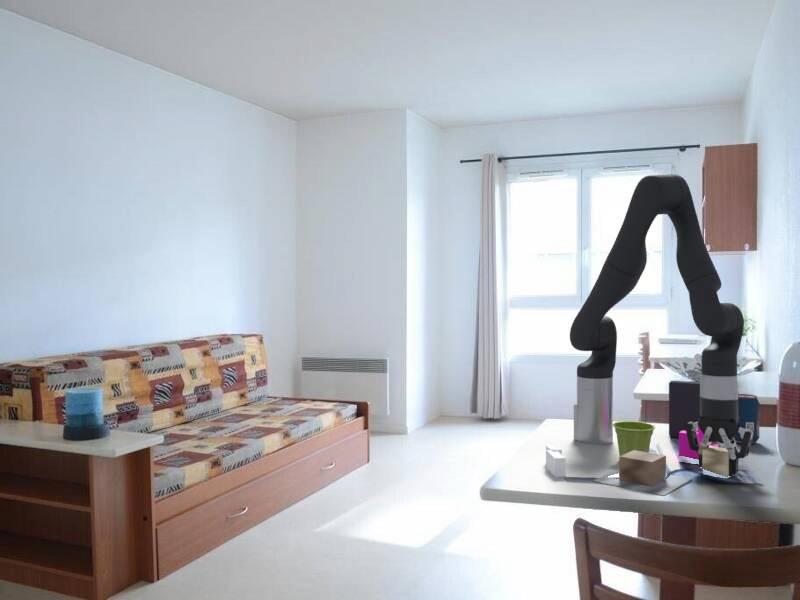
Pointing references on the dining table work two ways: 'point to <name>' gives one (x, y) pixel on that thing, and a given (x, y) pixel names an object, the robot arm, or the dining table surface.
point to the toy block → (684, 444)
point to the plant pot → (633, 436)
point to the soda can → (748, 415)
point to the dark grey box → (683, 405)
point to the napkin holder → (555, 461)
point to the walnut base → (653, 490)
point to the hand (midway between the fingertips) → (718, 473)
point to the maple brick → (716, 460)
